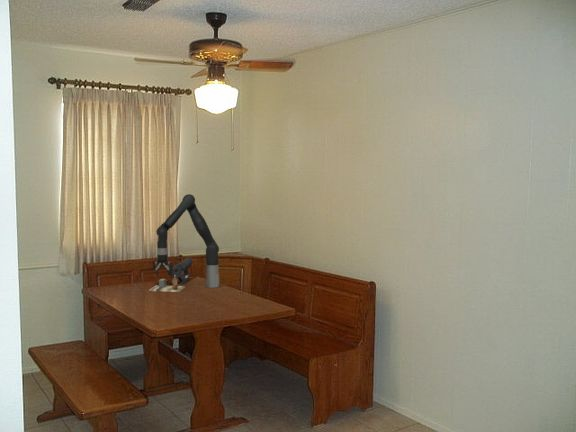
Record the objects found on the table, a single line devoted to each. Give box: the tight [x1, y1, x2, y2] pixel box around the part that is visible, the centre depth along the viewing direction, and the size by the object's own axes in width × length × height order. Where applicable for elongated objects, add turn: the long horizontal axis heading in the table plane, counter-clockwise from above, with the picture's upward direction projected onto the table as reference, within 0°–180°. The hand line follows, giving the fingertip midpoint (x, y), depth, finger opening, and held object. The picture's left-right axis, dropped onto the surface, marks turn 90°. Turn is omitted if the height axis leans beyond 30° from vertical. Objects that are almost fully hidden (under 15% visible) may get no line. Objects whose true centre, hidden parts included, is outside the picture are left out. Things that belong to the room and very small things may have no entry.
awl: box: [171, 275, 178, 290], centre depth 402 cm, size 4×4×11 cm
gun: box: [166, 257, 194, 285], centre depth 426 cm, size 7×28×20 cm, turn 154°
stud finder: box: [158, 278, 168, 288], centre depth 411 cm, size 4×6×6 cm, turn 176°
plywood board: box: [149, 284, 186, 293], centre depth 408 cm, size 23×15×1 cm, turn 86°
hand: (162, 274), depth 411 cm, fingers open, 8 cm apart
